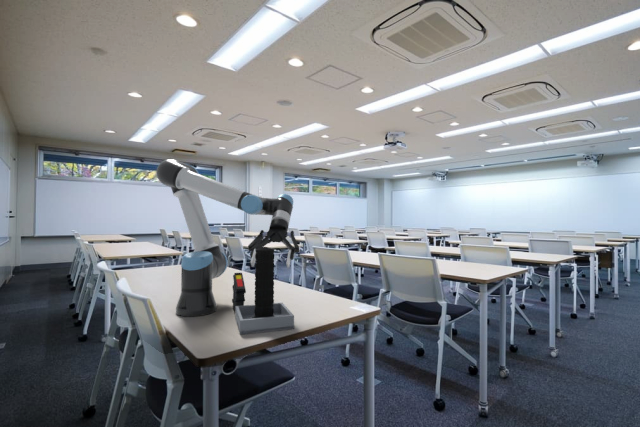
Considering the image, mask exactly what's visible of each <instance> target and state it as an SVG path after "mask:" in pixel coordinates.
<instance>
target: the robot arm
mask: <svg viewBox="0 0 640 427" xmlns="http://www.w3.org/2000/svg"><path fill="white" fill-rule="evenodd" d="M156 178H157V179H158V181H159V182H160V183H161V184H162V185H165V186H166V187H170V189H171V191H172V192H171V193H172V194H173V196H174V197H176V198H178V201H179V203H180V206H181V211H182V214H183V217H184V219H185V223H186V226H187V228H188V231H189V235H190V238H191V241H192V244H193V247H194V250H193V251H191V252H187V253H185V254H184V255H183V256H182V258H181V264H180V266H181V277H180V278H181V280H180V281H181V283H180V284H181V285H180V290H181V291H180V296H179V298H178V300H177V303H176V306H175V314H176V315H178V316H180V315H181V316H183V317H200V316H204V315H205V316H207V315H209V314H212V313H214V312H216V311H217V303H216V300H215V296H214V293H213V280H214V279H217V278H219V277H220V276H222V275H223V274H224V273H225V272H226V270H227V267H228V264H229V263H228V257H227V256H226V254H225V253H224V252H222V251H221V248H220V245H219V244H217V243H216V242H215V240H214V237H213V234H212V232H211V228H210V226H209V223H208V219H207V217H206V213H205V209H204V207H203V204H202V201H201V198H200V195H202V196H203V197H206V198H209V199H211V200H214V201H216V202H220V203H222V204H225V205H228V206H230V207H232V208H235V209H238V210H239V211H240V210H241V211H243V212H244V213H246V214H248V215H250V216H251V215H253V216H254V215H259V216H260V215H261V216H272V218H271V221H270V224H269V229H268V231H264V230H263V229H261V230H260V231H259V234H258V235H257V236H256V237H255V238H254V239H253V240H252V241H251V242H250V243H249V244H248V246H247V247H248V252H250V261H249V262H250V265H251V268H252V267H253V268H255V263H256V262H255V261H256V259H255V255H256V251H255V249H259V248H262V247H266V245H268V244H271V243H281V242H282V244H283V245H285V247H286V248H287V249H288V252H287V258H286V264H285V265H286V268H287V269H289V268H290V266H291V262H292V260H294V257H295V254H296V253H300V246H299V244H298V241H297V239H296V237H295V231H294V230H290V232H288V230H289V225H290V222H291V216H292V212H293V208H294V198H293V197H292V196H291V195H290V194H286V193H282V194H279V195H278V196H277V197H276V198H269V197H268V198H267V197H261V196H257V195H255V194H252V193H249V192H247V191H244V190H242V189H240V188H237V187H235V186H234V187H233V186H231V185H229V184H226V183H224V182H221V181H218V180H216V179H213V178H210V177H207V176H206V175H202V174H200V172H199V170H197V169H196V167H194V166H192V165H191V164H189V163H185V162H182V161H179V160H177V159H165V160H163V161H161V162H160V163H159V164H158V166H157V167H156ZM287 237H289V238H290V239H291V242H292V244H291V243H290V241H289V240H288V239H287ZM181 316H180V317H181Z"/></svg>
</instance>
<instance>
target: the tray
mask: <svg viewBox="0 0 640 427" xmlns="http://www.w3.org/2000/svg"><path fill="white" fill-rule="evenodd" d="M273 305H274V306H273V309H274V313H273V315H274V316H275V317H264V318H253V319H251V318H252V317H254V315H255V313H254V310H255V307H254V306H255V304H246V305H245V304H244V306H235V311H234V312H235V313H234V317H235V322H236V326H237V330H238V332H239V335H249V334H257V333H258V334H259V333H269V332H277V331H287V330H294V329H295V315H294V314H293V313H292V311H291V310H290V309H289V308H288V306H286V305H285V304H284V302H274V303H273Z"/></svg>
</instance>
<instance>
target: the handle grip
mask: <svg viewBox="0 0 640 427" xmlns="http://www.w3.org/2000/svg"><path fill="white" fill-rule="evenodd" d="M255 251H256V255H255V259H256V261H255V265H254V268H255V270H254V271H255V273H254V280H255V281H254V305H255V306H254V307H255V310H254V313H255V315H254V317H252V318H251V319H253V318H264V317H275V316H274V315H273V313H274V309H273V306H274V305H273V303H275V302H274V301H275V299H274V297H275V296H274V295H275V291H274V289H275V287H274V286H275V272H274V271H275V248H271V247H268V246H264V247H262V248H259V249H255Z"/></svg>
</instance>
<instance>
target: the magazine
mask: <svg viewBox="0 0 640 427" xmlns="http://www.w3.org/2000/svg"><path fill="white" fill-rule="evenodd" d="M232 277H233V278H232V279H233V285H232V291H233V292H232V293H233V294H232V298H231V303H232V308H233V311H234V312H235V306H244V305H245V301H246V299H245V294H246V292H247V291H246V290H247V289H246V286H245V282H244V281H245V280H244V276H243V272H234V274H233V275H232Z"/></svg>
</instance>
